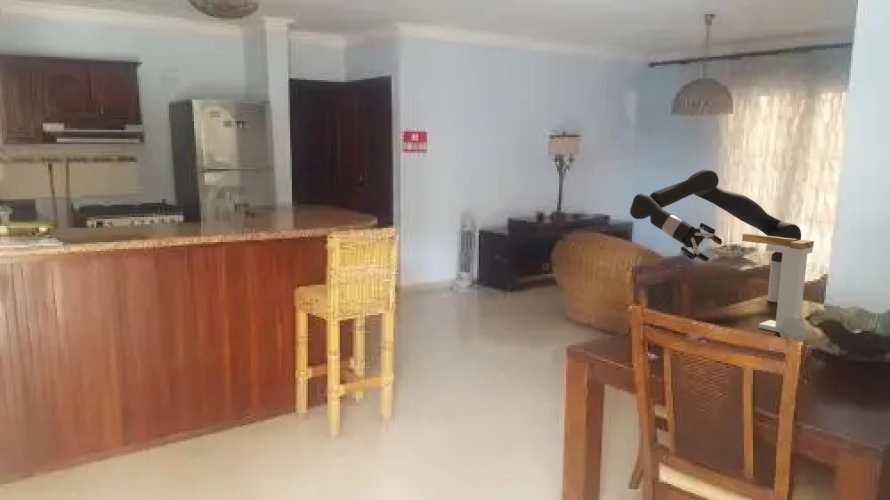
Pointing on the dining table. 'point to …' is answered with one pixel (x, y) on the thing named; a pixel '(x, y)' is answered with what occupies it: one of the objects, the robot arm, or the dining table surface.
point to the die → (793, 328)
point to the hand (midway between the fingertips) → (715, 251)
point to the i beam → (789, 284)
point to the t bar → (778, 241)
